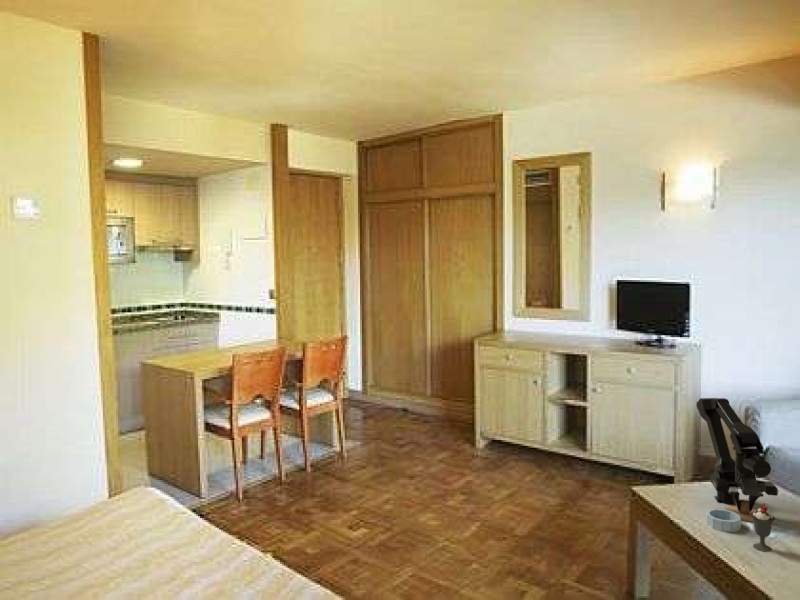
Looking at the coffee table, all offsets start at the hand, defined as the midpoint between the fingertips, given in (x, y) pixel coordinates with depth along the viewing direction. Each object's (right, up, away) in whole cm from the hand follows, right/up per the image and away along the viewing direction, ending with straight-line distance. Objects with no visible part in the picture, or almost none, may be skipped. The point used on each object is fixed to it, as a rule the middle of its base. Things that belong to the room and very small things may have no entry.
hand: (744, 510), depth 201 cm
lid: (0, -1, 0) cm, 1 cm away
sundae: (-7, -4, -22) cm, 23 cm away
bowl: (-11, -3, -7) cm, 14 cm away
